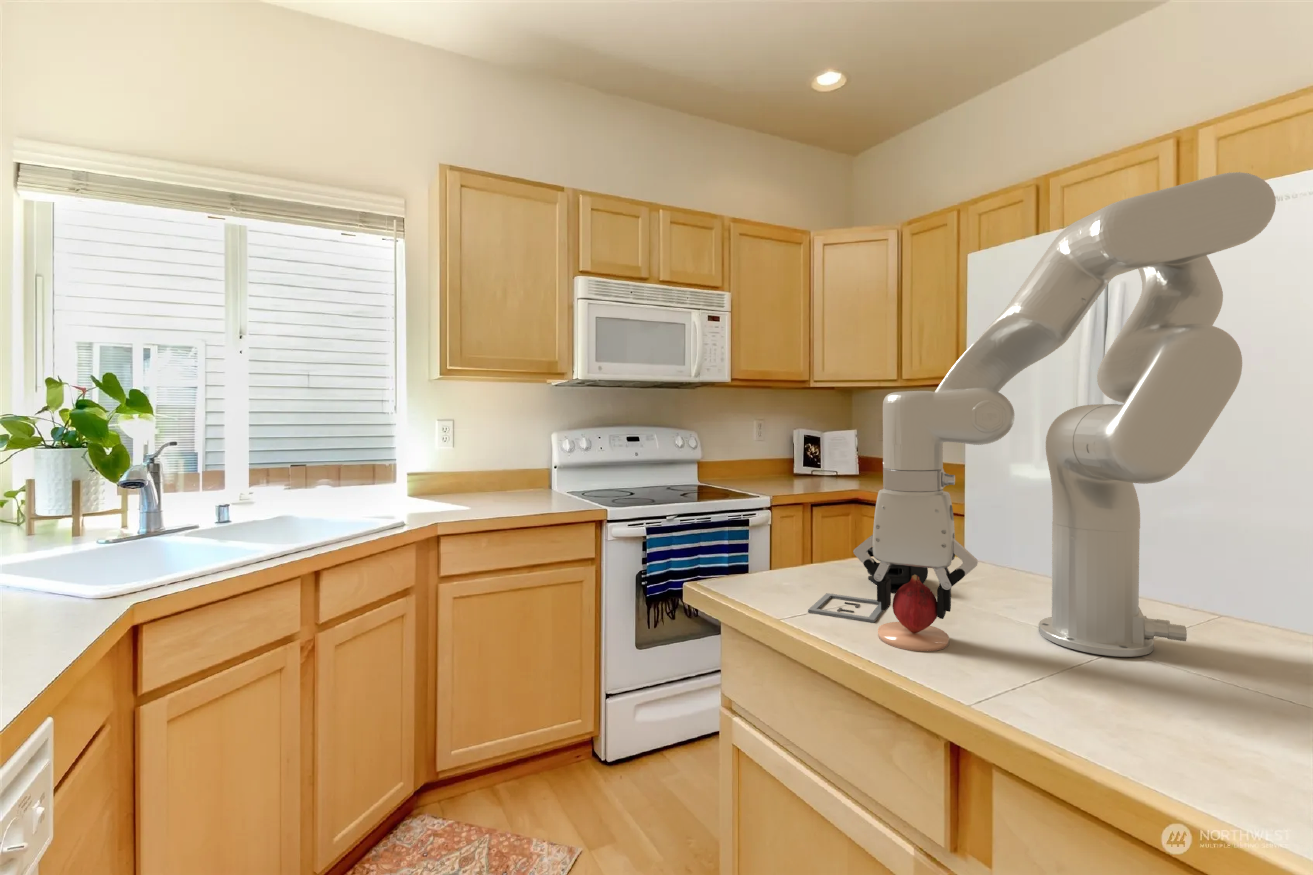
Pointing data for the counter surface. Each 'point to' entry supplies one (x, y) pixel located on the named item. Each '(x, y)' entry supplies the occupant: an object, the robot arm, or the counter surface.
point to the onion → (915, 605)
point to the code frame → (827, 596)
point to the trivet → (913, 637)
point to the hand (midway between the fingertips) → (913, 610)
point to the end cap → (900, 574)
